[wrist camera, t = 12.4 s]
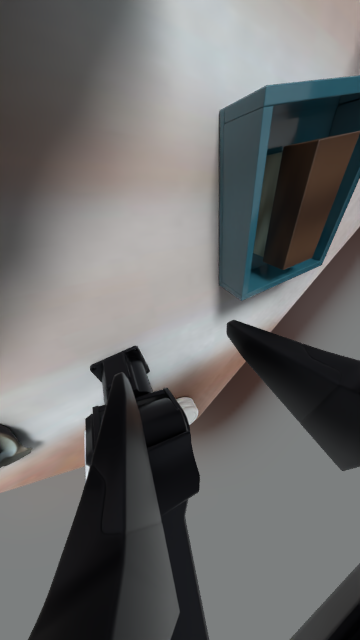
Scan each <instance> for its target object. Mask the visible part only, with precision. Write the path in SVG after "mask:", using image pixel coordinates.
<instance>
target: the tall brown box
mask: <svg viewBox="0 0 360 640" xmlns="http://www.w3.org/2000/svg"><path fill="white" fill-rule="evenodd" d="M359 134H360V131H356V132H350V133H345V134H340V135H335V136H330V137H325V138H320V139H316V140H311V141H306V142H302V143H297V144H292V145H288V146H284V147H283V152H280V153H276V154H271V155H267V158H266V165H265V172H264V180H263V187H262V194H261V201H260V208H259V215H258V223H257V230H256V237H255V244H254V251H253V253H255V254H257V255H260V256H262V257H263V262H265V263H267V264H269V265H272V266H274V267H277V268H279V269H281V270H285V269H287V268H289V267H292V266H294V265H296V264H299V263H301V262H303V261H306V260H308V259H310V258H312V257H313V254H314V252H315V249H316V246H317V244H318V241H319V239H320V236H321V233H322V231H323V228H324V226H325V223H326V220H327V218H328V215H329V212H330V210H331V207H332V205H333V202H334V199H335V197H336V194H337V192H338V189H339V186H340V184H341V181H342V179H343V176H344V173H345V171H346V168H347V166H348V163H349V160H350V158H351V155H352V152H353V150H354V147H355V145H356V142H357V139H358V137H359Z"/></svg>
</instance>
